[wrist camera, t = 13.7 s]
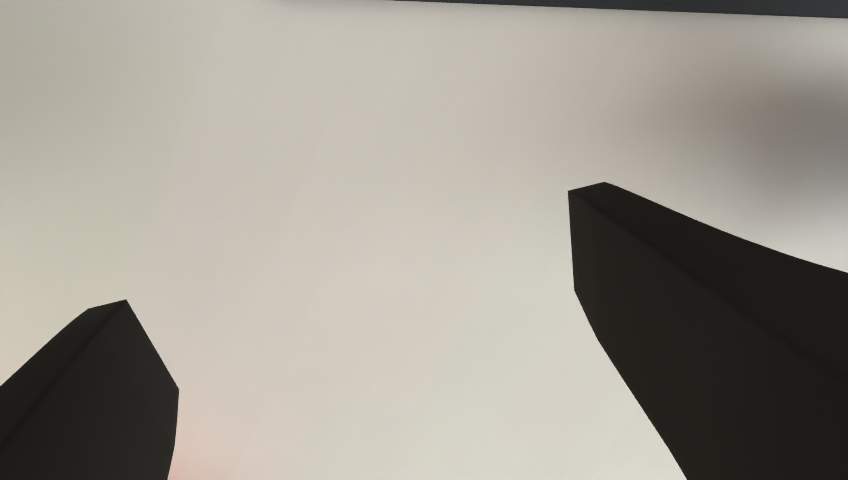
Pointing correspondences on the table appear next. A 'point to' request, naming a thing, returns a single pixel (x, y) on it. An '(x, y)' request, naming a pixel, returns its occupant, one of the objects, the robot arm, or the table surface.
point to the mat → (693, 6)
